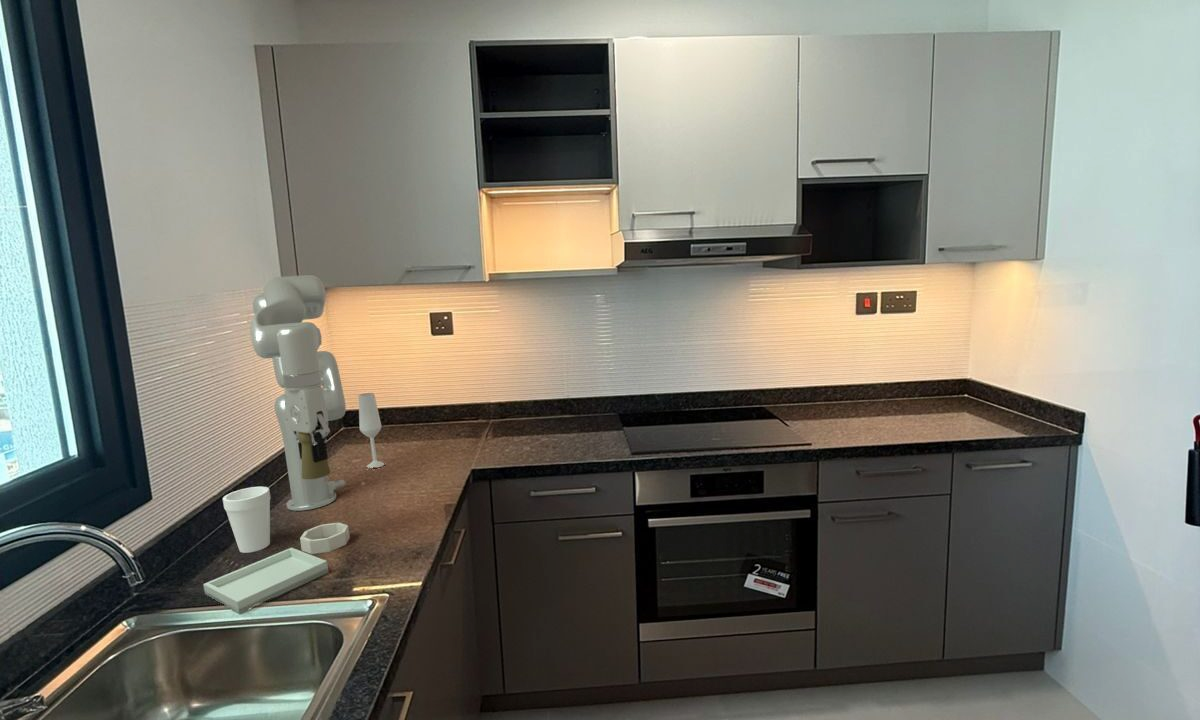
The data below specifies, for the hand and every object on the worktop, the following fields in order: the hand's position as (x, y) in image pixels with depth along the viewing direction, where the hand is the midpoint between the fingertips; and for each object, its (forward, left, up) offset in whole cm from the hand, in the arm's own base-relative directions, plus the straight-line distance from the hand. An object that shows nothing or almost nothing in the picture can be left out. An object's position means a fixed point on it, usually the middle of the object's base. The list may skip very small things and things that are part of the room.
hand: (313, 458), depth 142 cm
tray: (+17, +7, -21) cm, 28 cm away
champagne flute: (-43, -42, -21) cm, 63 cm away
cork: (0, 0, -4) cm, 4 cm away
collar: (0, 0, -21) cm, 21 cm away
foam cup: (+9, -15, -21) cm, 27 cm away
